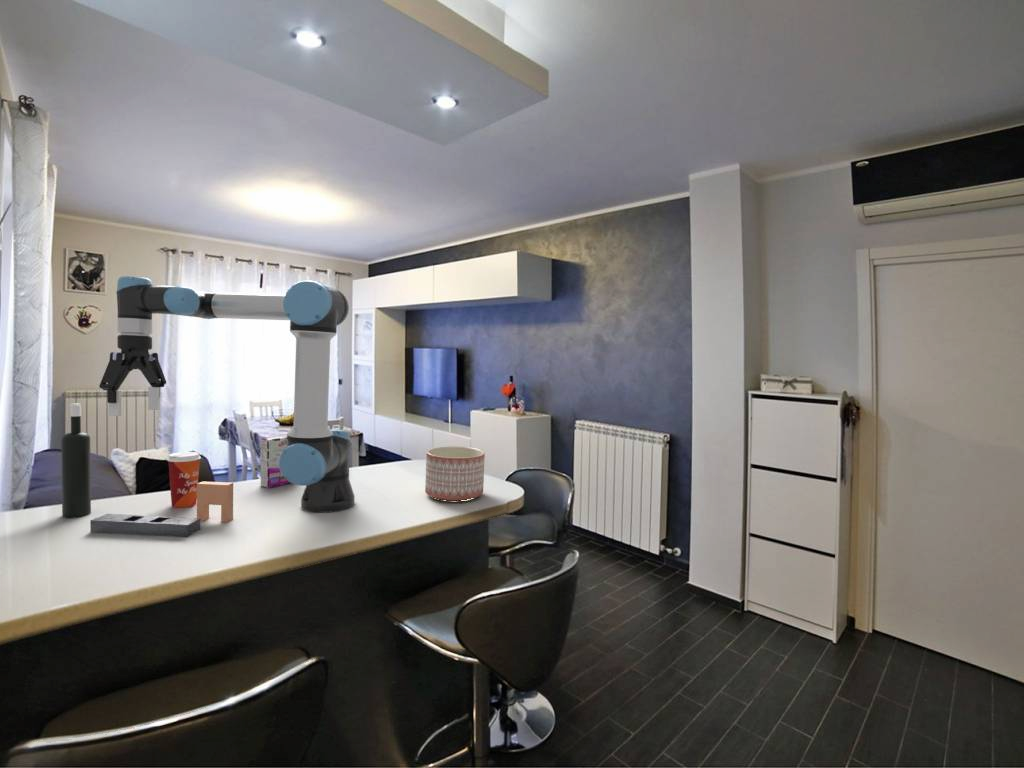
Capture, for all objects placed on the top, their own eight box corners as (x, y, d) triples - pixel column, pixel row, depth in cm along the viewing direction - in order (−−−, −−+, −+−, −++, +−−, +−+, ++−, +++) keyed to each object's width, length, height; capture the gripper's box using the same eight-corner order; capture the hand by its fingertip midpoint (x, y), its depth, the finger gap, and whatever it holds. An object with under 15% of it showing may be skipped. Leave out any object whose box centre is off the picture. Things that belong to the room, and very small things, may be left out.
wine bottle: (92, 515, 133) (91, 403, 131) (63, 519, 129) (62, 404, 127) (89, 509, 137) (88, 401, 135) (61, 514, 133) (59, 402, 131)
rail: (200, 529, 126) (200, 518, 125) (187, 537, 121) (187, 524, 120) (107, 525, 126) (107, 513, 126) (90, 532, 121) (90, 520, 121)
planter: (494, 494, 168) (495, 451, 167) (458, 508, 152) (460, 460, 151) (450, 484, 178) (451, 444, 177) (412, 496, 162) (414, 451, 161)
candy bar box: (289, 479, 176) (290, 434, 175) (298, 482, 173) (298, 435, 172) (259, 486, 167) (259, 437, 166) (267, 488, 164) (268, 439, 163)
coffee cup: (184, 510, 139) (184, 457, 139) (159, 507, 141) (159, 455, 140) (207, 502, 148) (208, 452, 147) (184, 499, 149) (184, 450, 148)
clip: (233, 519, 134) (233, 482, 134) (227, 522, 132) (228, 485, 131) (202, 517, 134) (202, 481, 134) (196, 520, 132) (196, 483, 131)
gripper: (155, 336, 147) (155, 407, 148) (80, 332, 122) (81, 417, 123) (180, 337, 147) (180, 408, 148) (110, 333, 122) (111, 418, 123)
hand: (135, 412), depth 136 cm, fingers open, 13 cm apart
